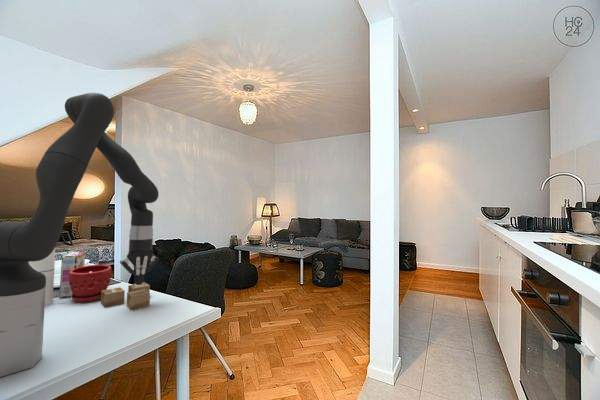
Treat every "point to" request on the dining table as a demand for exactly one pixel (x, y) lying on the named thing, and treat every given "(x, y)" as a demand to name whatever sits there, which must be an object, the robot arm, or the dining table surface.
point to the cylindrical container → (46, 274)
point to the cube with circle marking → (138, 287)
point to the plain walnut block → (138, 299)
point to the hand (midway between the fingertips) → (139, 284)
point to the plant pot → (89, 282)
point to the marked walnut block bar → (112, 297)
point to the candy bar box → (67, 265)
